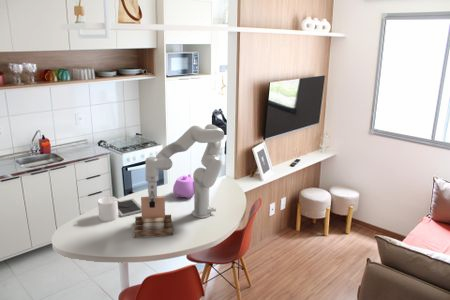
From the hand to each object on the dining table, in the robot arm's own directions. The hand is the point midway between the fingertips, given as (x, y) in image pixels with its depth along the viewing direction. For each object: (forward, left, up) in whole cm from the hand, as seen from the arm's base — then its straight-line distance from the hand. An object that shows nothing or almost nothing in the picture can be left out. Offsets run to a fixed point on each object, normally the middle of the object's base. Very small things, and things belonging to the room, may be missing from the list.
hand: (152, 203), depth 238 cm
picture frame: (+16, -24, -15) cm, 32 cm away
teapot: (-26, -42, -14) cm, 51 cm away
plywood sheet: (-1, 0, -14) cm, 14 cm away
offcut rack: (-1, +6, -14) cm, 15 cm away
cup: (+27, -13, -14) cm, 33 cm away
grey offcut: (-1, +12, -14) cm, 18 cm away
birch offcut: (-1, +6, -14) cm, 15 cm away
